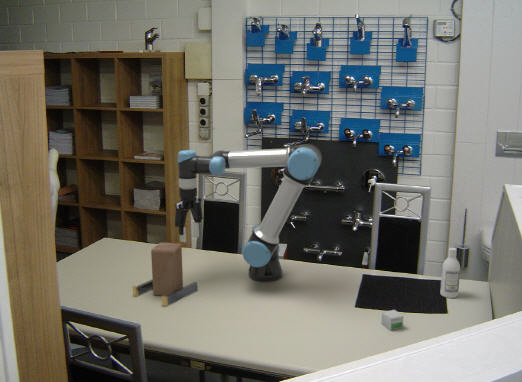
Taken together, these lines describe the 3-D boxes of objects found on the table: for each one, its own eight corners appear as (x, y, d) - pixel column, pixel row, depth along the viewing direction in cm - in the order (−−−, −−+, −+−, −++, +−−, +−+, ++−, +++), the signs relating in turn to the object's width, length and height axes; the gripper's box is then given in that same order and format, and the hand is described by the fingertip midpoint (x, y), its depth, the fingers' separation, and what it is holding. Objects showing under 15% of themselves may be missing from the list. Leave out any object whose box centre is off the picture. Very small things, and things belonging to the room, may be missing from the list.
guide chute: (197, 290, 228) (197, 281, 227) (165, 306, 213) (165, 297, 212) (166, 280, 238) (165, 272, 237) (133, 295, 223) (132, 286, 222)
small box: (390, 331, 193) (391, 318, 192) (380, 324, 198) (381, 311, 197) (403, 328, 196) (404, 315, 194) (393, 321, 201) (394, 309, 200)
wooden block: (175, 297, 221) (173, 251, 216) (152, 295, 223) (150, 249, 218) (183, 288, 231) (182, 243, 226) (161, 286, 233) (159, 241, 228)
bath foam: (461, 297, 221) (465, 250, 217) (447, 299, 219) (451, 252, 214) (450, 290, 228) (454, 245, 223) (436, 293, 225) (440, 247, 221)
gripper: (197, 182, 239) (198, 231, 244) (164, 190, 222) (166, 244, 227) (210, 184, 234) (211, 234, 240) (177, 193, 218) (179, 247, 223)
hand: (189, 239), depth 234 cm, fingers open, 8 cm apart
